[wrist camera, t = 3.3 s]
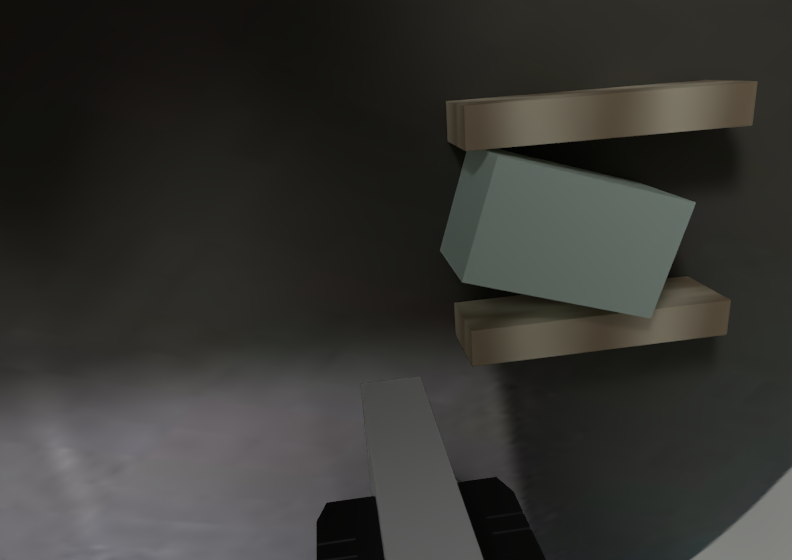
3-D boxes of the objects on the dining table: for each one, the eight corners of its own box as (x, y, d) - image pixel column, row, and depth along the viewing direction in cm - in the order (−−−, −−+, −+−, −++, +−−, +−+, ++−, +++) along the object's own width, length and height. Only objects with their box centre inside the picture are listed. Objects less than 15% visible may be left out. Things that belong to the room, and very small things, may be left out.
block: (439, 249, 34) (461, 282, 29) (468, 141, 32) (497, 155, 27) (602, 282, 36) (650, 318, 30) (637, 182, 34) (696, 202, 29)
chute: (455, 334, 35) (472, 366, 32) (445, 101, 31) (464, 105, 27) (684, 307, 37) (726, 334, 33) (705, 79, 32) (757, 81, 29)
